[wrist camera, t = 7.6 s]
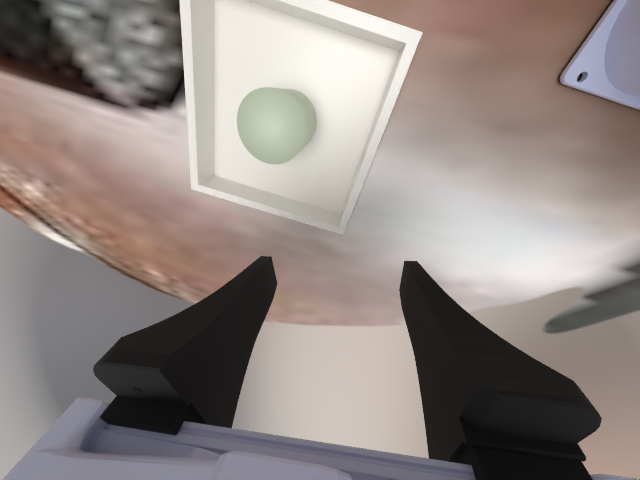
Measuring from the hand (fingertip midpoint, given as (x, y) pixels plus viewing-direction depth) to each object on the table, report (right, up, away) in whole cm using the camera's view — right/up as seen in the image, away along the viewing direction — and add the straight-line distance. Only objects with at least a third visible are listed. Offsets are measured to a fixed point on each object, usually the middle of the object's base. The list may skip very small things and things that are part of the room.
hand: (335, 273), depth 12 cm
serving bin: (-3, +11, +5) cm, 13 cm away
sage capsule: (-3, +11, +5) cm, 12 cm away
